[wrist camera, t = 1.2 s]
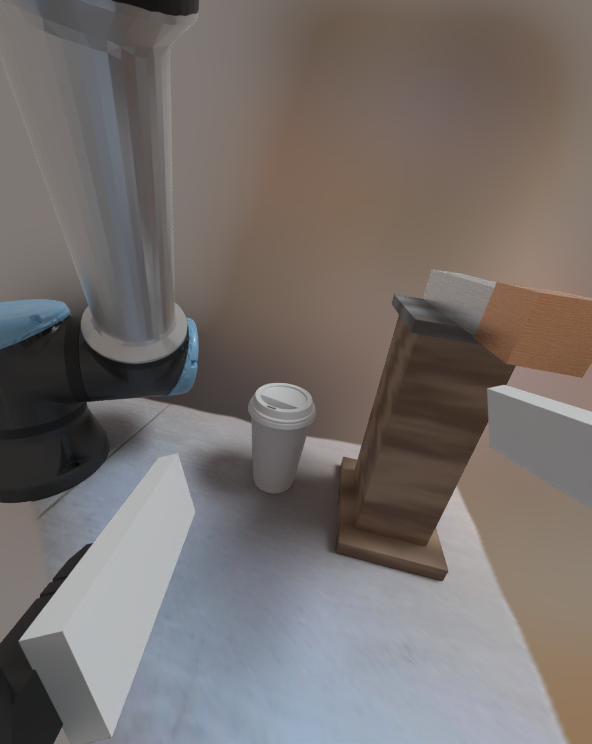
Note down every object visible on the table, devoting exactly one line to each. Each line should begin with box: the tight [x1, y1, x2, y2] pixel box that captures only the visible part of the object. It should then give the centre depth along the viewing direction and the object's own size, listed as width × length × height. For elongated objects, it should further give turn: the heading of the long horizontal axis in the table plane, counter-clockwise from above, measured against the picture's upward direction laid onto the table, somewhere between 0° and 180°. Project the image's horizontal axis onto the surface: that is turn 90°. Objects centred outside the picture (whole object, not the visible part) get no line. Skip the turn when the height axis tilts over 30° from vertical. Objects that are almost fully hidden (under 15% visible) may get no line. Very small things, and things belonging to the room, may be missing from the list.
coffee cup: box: [248, 383, 316, 494], centre depth 43 cm, size 10×10×15 cm
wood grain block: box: [423, 269, 592, 377], centre depth 26 cm, size 23×4×4 cm, turn 170°
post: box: [336, 295, 516, 581], centre depth 37 cm, size 16×13×30 cm
